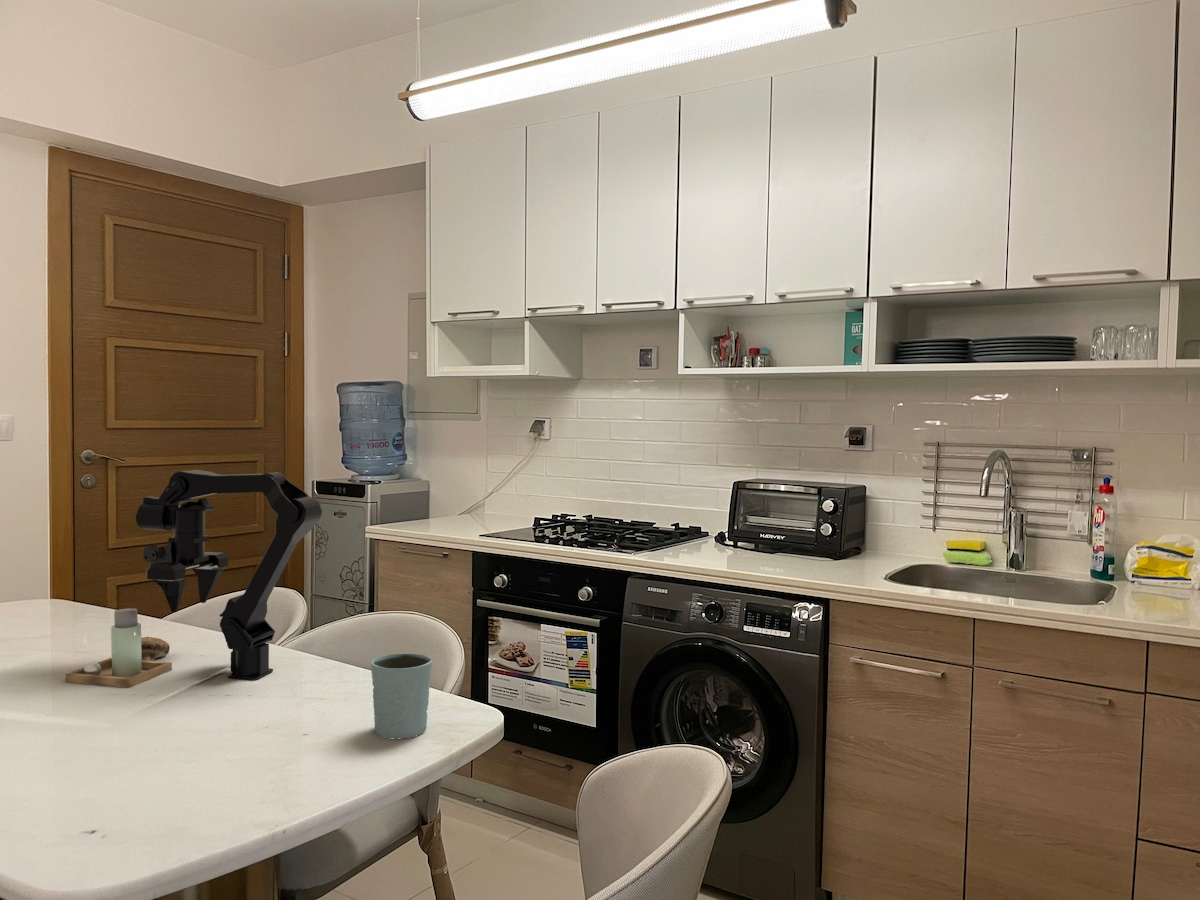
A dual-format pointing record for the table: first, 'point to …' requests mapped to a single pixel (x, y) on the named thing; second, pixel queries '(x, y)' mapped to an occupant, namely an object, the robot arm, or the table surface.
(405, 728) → the grey-green cup
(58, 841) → the table surface
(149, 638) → the mushroom
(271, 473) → the robot arm
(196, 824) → the table surface
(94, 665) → the ball
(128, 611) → the disc
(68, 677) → the tray
